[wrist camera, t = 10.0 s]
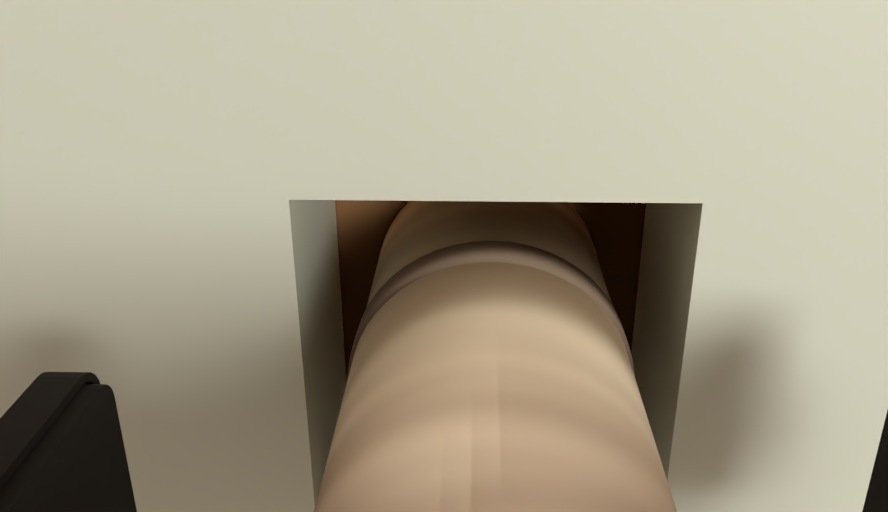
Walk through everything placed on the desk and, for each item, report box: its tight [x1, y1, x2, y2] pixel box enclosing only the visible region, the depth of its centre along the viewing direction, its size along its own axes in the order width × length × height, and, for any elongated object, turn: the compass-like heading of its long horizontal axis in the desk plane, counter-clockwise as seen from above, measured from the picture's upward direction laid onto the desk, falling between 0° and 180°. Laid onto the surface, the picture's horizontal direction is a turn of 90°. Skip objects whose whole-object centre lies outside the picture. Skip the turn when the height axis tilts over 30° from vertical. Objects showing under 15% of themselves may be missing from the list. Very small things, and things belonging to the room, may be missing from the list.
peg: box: [314, 201, 677, 512], centre depth 11 cm, size 4×4×10 cm
